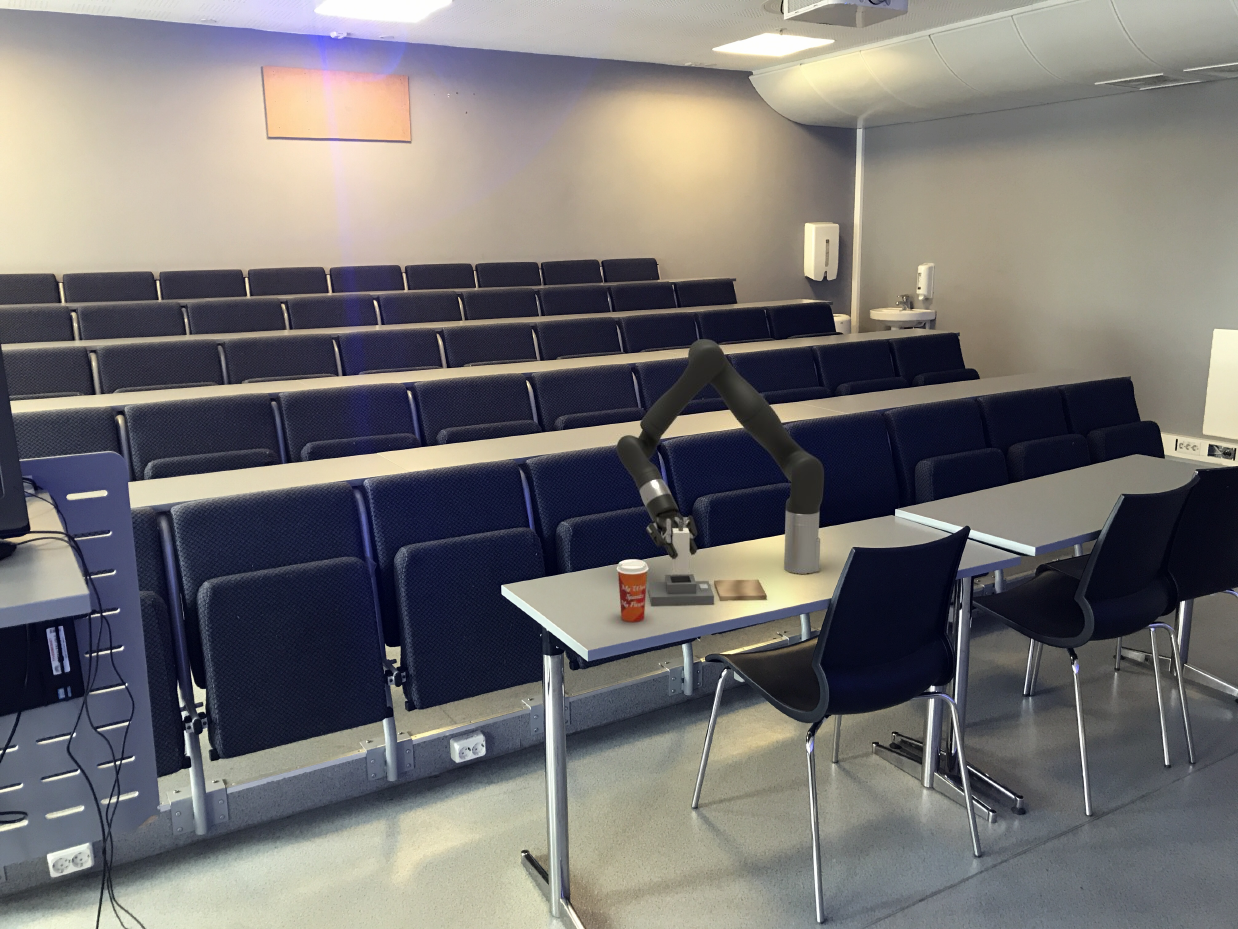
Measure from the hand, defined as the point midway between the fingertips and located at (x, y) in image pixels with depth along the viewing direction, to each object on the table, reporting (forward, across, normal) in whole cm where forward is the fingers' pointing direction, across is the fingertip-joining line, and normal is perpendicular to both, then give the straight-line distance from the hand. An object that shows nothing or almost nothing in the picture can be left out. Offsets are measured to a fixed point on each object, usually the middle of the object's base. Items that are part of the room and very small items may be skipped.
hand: (685, 555), depth 238 cm
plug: (+2, 0, +5) cm, 5 cm away
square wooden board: (+11, +15, +6) cm, 20 cm away
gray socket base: (+7, 0, +10) cm, 12 cm away
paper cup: (+11, -18, +6) cm, 22 cm away
